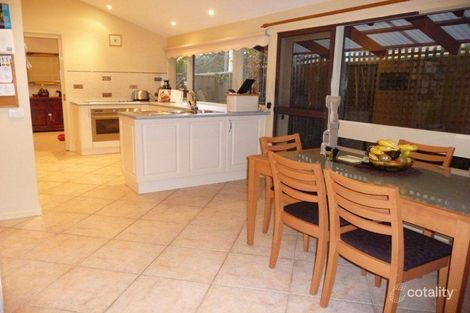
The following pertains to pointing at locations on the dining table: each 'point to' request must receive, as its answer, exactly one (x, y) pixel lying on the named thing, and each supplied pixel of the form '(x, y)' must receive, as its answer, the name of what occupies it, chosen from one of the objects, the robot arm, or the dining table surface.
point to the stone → (366, 155)
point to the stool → (330, 155)
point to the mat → (350, 159)
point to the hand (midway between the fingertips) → (331, 157)
